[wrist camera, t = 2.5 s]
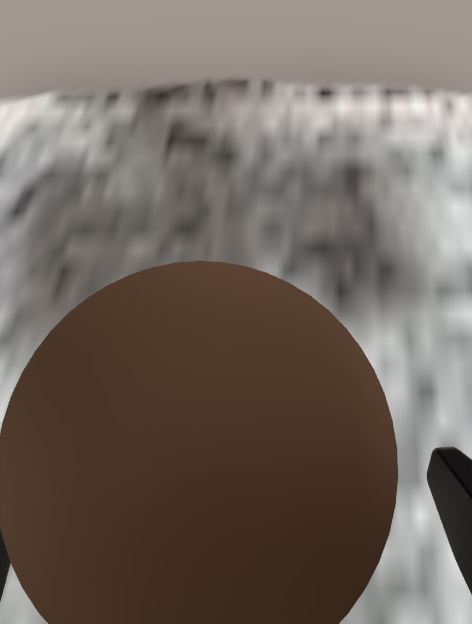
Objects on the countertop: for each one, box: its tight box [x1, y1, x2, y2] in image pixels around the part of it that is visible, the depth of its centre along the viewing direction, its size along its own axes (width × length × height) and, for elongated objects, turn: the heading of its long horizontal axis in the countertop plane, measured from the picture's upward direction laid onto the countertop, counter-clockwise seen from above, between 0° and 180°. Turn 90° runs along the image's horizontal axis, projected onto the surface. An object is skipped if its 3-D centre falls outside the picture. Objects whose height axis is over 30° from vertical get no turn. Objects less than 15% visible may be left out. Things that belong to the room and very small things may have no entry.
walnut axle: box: [0, 261, 398, 624], centre depth 11 cm, size 4×4×13 cm
